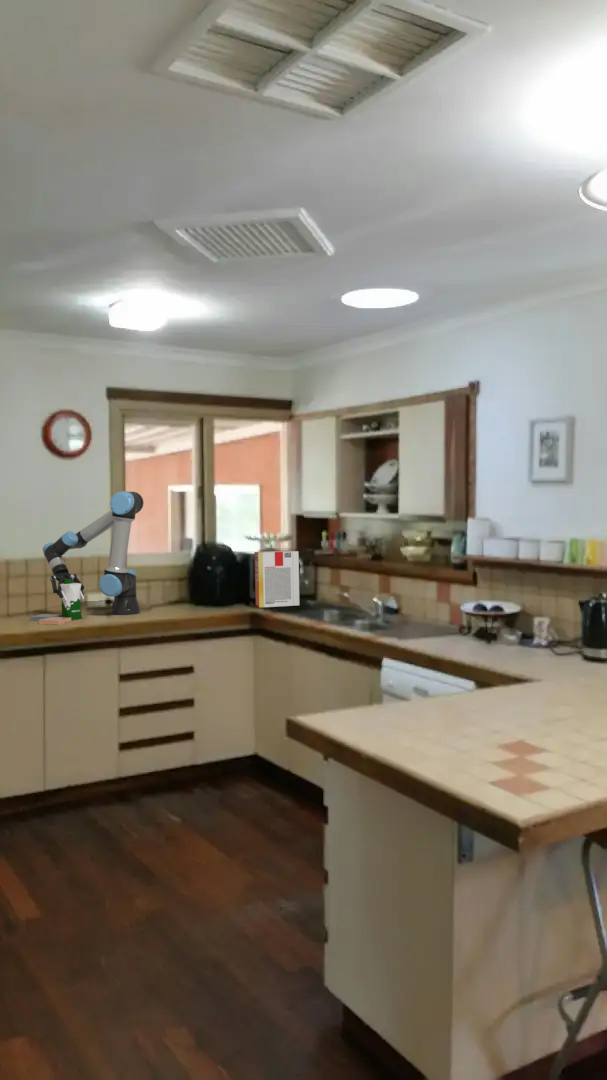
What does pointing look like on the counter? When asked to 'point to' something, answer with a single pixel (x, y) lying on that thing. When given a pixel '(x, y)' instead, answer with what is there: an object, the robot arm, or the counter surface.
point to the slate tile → (44, 616)
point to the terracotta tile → (55, 620)
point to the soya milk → (71, 599)
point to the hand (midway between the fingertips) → (74, 601)
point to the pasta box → (277, 578)
